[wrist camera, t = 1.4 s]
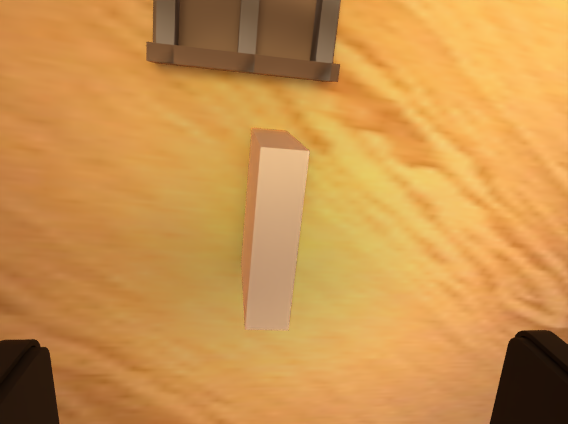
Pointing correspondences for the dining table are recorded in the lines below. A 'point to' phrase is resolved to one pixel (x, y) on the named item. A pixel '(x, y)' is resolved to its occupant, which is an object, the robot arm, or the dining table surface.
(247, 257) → the door panel
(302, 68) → the dark wooden tray
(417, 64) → the dining table surface
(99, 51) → the dining table surface
